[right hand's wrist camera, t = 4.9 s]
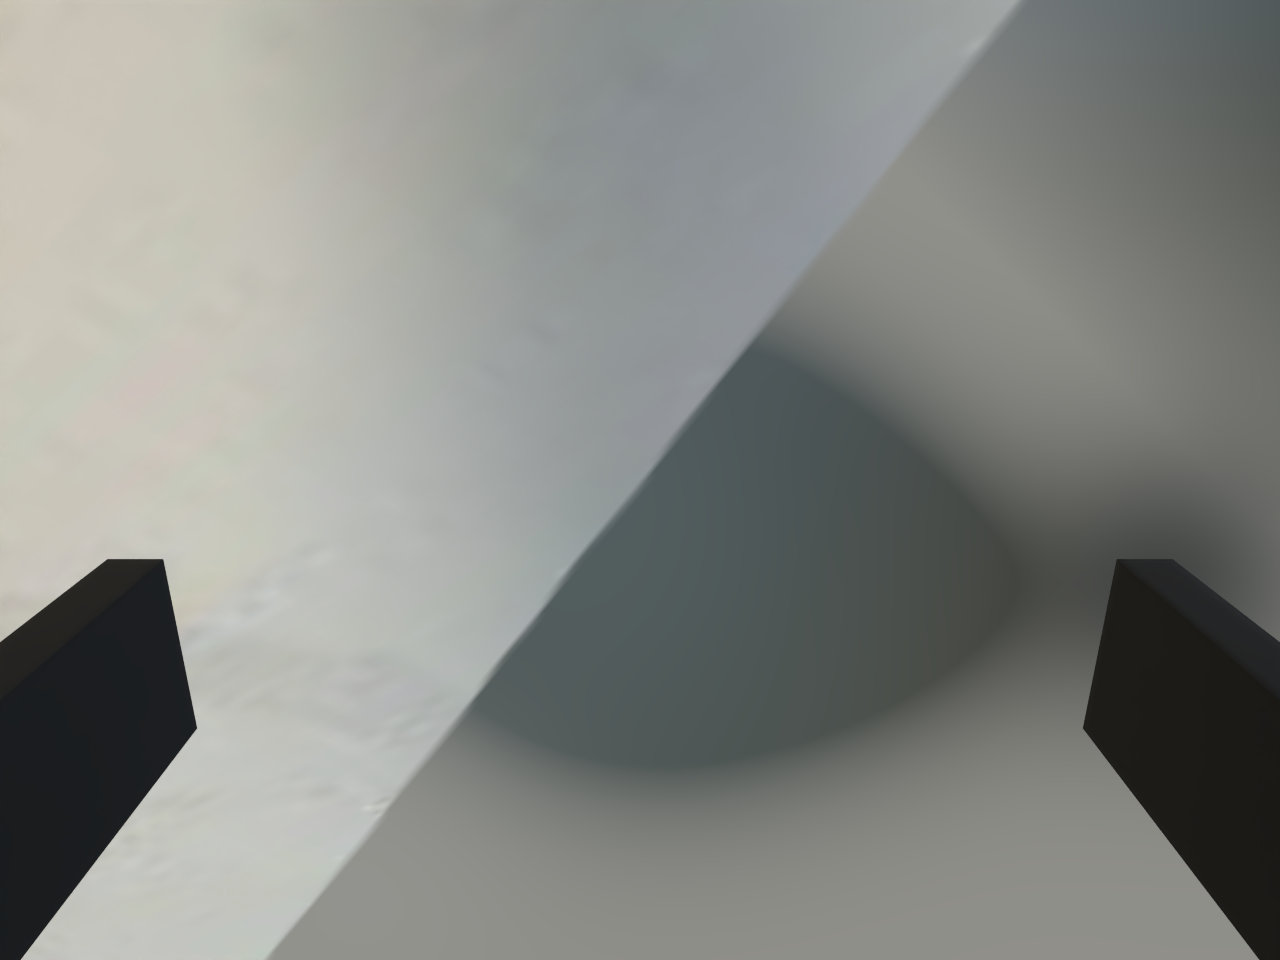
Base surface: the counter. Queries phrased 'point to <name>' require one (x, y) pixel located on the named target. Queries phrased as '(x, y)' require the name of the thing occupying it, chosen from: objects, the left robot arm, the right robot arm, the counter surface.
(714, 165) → the counter surface
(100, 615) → the right robot arm
